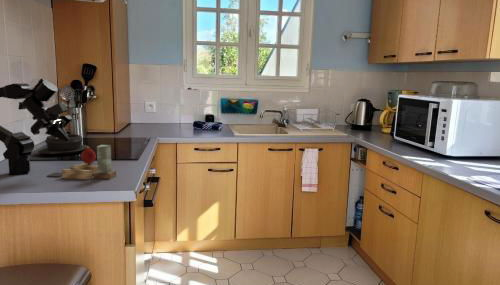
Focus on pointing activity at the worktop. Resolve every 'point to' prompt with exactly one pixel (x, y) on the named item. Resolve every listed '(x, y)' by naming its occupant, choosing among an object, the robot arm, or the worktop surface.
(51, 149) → the casserole
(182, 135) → the worktop surface
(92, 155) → the onion
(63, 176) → the tunnel
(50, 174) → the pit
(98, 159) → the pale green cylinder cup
